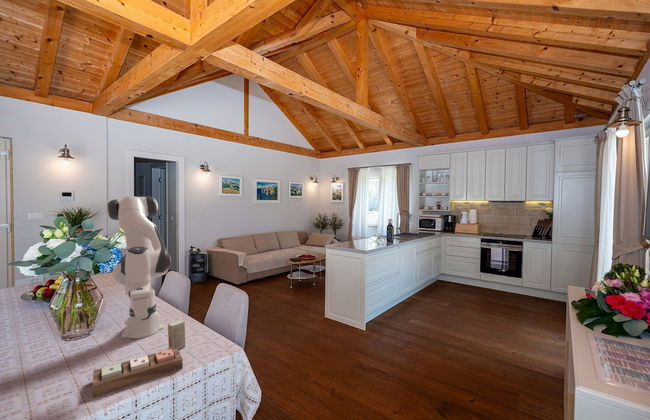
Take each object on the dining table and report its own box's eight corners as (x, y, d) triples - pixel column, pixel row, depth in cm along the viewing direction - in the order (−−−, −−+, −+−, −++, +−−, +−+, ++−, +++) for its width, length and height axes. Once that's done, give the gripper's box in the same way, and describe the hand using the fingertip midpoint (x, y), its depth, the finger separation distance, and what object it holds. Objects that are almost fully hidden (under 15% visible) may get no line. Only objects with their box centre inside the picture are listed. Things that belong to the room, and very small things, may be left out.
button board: (93, 380, 112) (93, 370, 112) (176, 355, 129) (176, 347, 129) (92, 397, 102) (92, 386, 102) (182, 368, 120) (182, 358, 120)
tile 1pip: (102, 380, 111) (101, 367, 111) (121, 375, 115) (120, 362, 114) (102, 389, 106) (101, 375, 106) (121, 382, 110) (121, 369, 110)
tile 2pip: (130, 372, 116) (130, 359, 116) (147, 367, 120) (147, 355, 120) (131, 379, 112) (131, 366, 111) (149, 374, 115) (149, 361, 115)
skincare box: (181, 343, 141) (181, 319, 140) (185, 346, 138) (185, 321, 137) (167, 348, 136) (167, 323, 135) (171, 352, 133) (171, 326, 132)
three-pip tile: (155, 364, 122) (155, 352, 122) (171, 360, 125) (171, 348, 125) (157, 371, 117) (157, 358, 117) (174, 366, 121) (174, 354, 121)
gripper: (127, 282, 122) (127, 314, 123) (130, 296, 106) (131, 333, 107) (144, 280, 126) (144, 310, 127) (150, 293, 110) (150, 328, 111)
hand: (138, 321), depth 117 cm, fingers closed
